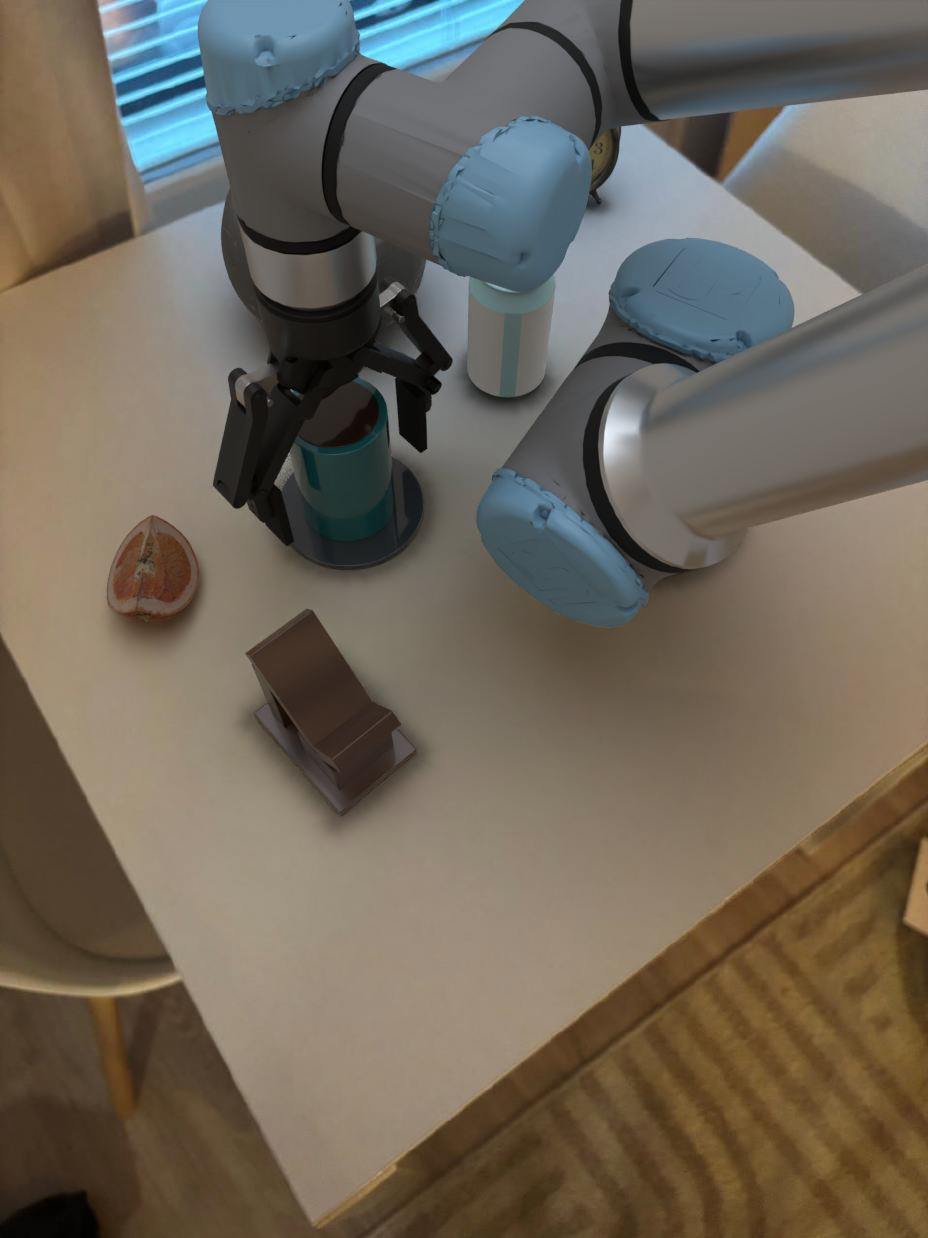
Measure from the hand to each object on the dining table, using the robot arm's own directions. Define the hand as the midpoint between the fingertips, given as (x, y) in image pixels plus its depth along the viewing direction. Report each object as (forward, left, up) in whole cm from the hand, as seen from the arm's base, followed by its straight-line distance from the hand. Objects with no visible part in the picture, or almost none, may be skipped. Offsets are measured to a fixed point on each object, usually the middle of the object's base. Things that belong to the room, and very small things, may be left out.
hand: (348, 486), depth 75 cm
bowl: (-2, -23, -3) cm, 23 cm away
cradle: (+4, +20, -3) cm, 21 cm away
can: (-16, -12, -3) cm, 20 cm away
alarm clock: (-27, -35, -3) cm, 44 cm away
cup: (0, 0, +3) cm, 3 cm away
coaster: (0, 0, -3) cm, 3 cm away
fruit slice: (+16, +5, -3) cm, 17 cm away
